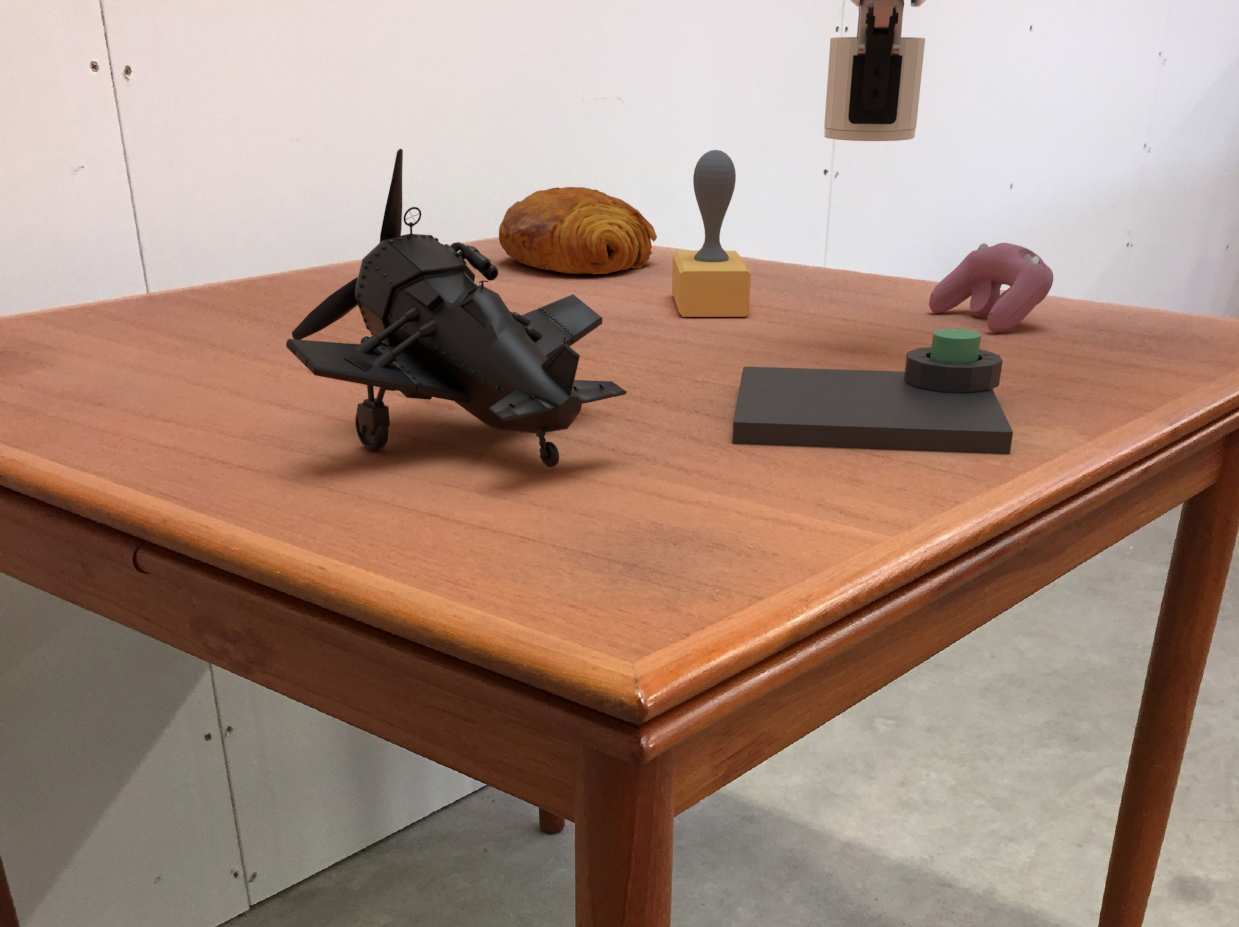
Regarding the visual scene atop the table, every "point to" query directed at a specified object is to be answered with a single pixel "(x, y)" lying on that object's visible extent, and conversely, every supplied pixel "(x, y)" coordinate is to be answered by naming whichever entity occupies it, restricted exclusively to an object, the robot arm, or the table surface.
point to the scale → (877, 407)
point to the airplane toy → (451, 338)
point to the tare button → (955, 345)
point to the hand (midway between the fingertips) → (870, 117)
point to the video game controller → (996, 284)
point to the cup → (841, 84)
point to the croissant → (576, 232)
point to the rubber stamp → (712, 250)
